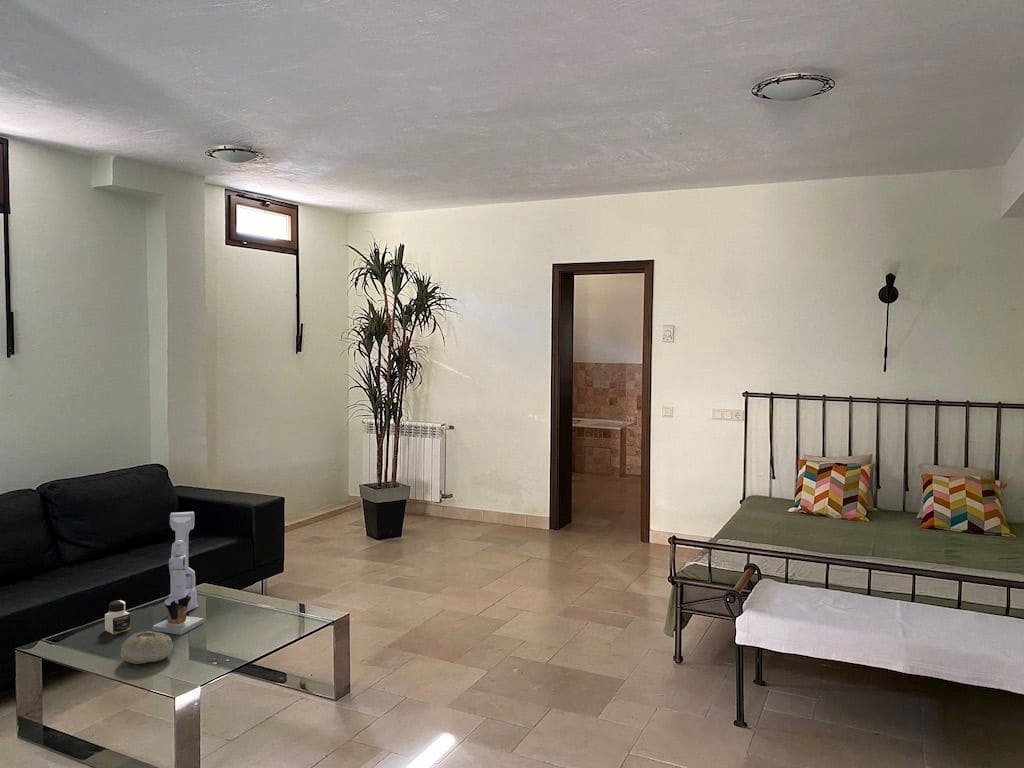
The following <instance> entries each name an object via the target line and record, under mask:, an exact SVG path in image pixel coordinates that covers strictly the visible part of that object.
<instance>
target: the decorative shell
mask: <svg viewBox="0 0 1024 768" xmlns="http://www.w3.org/2000/svg"><path fill="white" fill-rule="evenodd" d="M120 649H121V650H120V656H121V659H122V660H123V661H124V662H126V663H131V664H135V665H136V664H138V665H141V664H147V662H148V663H155V662H160V661H161V660H164V659H166V657H168V656H169V655H170V654H171V653H172V651H173V649H174V643H173V641H172V638H171V637H170V635H167V634H165V632H158V631H153V630H152V631H151V630H148V631H147V630H145V631H140V632H135V633H133V634H132V635H129V637H127V638H126V639H125V641H124V642H122V645H121V648H120Z"/></svg>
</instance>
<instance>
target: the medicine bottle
mask: <svg viewBox="0 0 1024 768" xmlns="http://www.w3.org/2000/svg"><path fill="white" fill-rule="evenodd" d="M130 630H131V613H130V612H128V611H126V601H124V600H121V599H120V600H119V599H118V600H114V601H111V602H110V603H108V612H107V613H104V631H105V632H107V633H110V634H112V635H117V634H121V633H122V632H126V631H130Z"/></svg>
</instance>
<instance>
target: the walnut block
mask: <svg viewBox="0 0 1024 768" xmlns="http://www.w3.org/2000/svg"><path fill="white" fill-rule="evenodd" d="M186 616H187V612H186V606H179V607H178V611H177V619H171V616H170V613H169V610H168V609H167V619H168V623H170V624H180V623H182V622H184V621H186Z"/></svg>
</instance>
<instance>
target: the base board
mask: <svg viewBox="0 0 1024 768" xmlns="http://www.w3.org/2000/svg"><path fill="white" fill-rule="evenodd" d="M204 623H205V622H204V618H203V617H197V616H188V615H186V621H184V622H182V623H180V624H170V623H168V618H166V619H164V620H162V621H160V622H158V623H156V624H154V625H152V632H154V631H155V632H158V633H164V634H165V633H167V634H174V635H180V636H182V635H184V634H186V633H187V632H189V631H191V630H193V629H195V628H196V627H199V626H202V624H204Z"/></svg>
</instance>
